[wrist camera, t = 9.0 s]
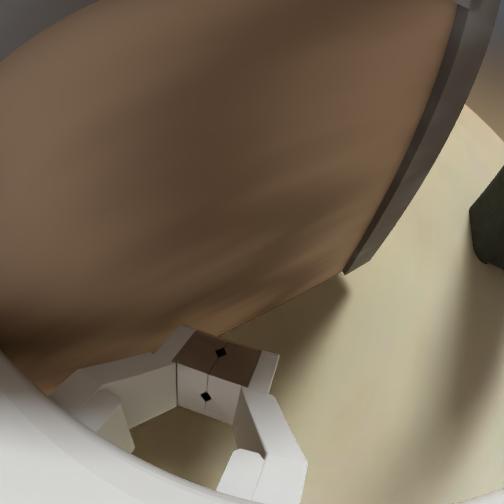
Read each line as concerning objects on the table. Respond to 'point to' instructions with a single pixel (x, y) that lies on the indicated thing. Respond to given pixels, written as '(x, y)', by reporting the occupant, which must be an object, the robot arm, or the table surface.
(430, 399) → the table surface
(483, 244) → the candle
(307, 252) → the gate panel
